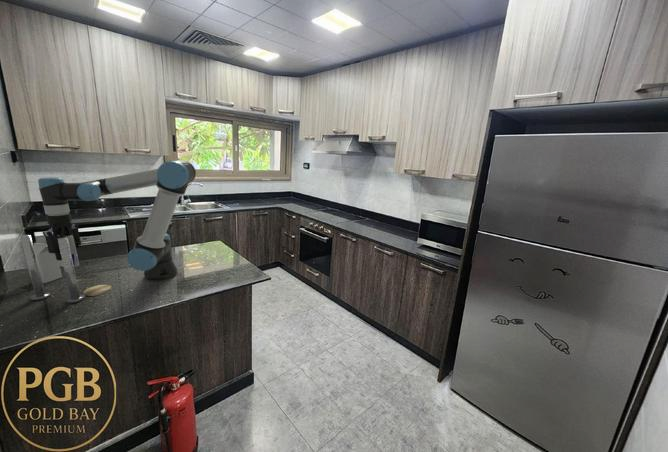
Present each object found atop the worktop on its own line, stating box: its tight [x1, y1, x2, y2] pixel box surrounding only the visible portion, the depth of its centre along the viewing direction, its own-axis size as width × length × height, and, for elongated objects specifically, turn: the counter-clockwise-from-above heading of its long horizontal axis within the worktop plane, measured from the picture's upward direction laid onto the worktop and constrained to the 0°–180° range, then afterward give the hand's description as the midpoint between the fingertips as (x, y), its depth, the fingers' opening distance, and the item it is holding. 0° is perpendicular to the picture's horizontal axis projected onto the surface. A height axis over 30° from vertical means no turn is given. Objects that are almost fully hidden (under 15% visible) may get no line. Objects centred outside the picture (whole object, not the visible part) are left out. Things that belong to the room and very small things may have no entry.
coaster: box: [82, 284, 112, 297], centre depth 126 cm, size 10×10×1 cm
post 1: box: [19, 234, 52, 302], centre depth 115 cm, size 6×6×28 cm
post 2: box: [58, 237, 86, 305], centre depth 114 cm, size 6×6×28 cm
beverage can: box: [61, 235, 80, 269], centre depth 121 cm, size 6×6×15 cm
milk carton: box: [33, 242, 63, 284], centre depth 132 cm, size 7×7×19 cm
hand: (69, 263), depth 122 cm, fingers closed on beverage can, 5 cm apart
